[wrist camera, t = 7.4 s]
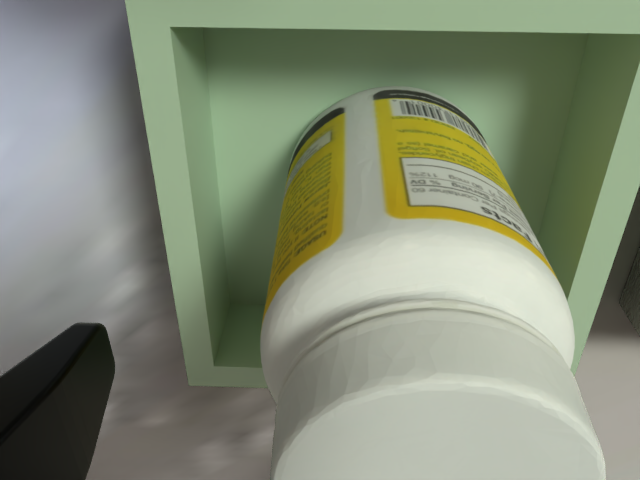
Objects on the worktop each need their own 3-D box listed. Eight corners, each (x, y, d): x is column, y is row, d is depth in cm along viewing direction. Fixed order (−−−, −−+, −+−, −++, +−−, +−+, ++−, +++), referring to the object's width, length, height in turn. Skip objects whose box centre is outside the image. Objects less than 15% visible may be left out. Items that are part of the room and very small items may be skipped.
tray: (629, -38, 12) (706, -11, 9) (534, 318, 17) (566, 398, 14) (168, -43, 12) (121, -19, 10) (211, 308, 17) (188, 385, 15)
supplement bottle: (324, 277, 16) (305, 619, 9) (259, 117, 13) (160, 410, 6) (505, 233, 15) (651, 577, 8) (471, 51, 12) (637, 310, 5)
